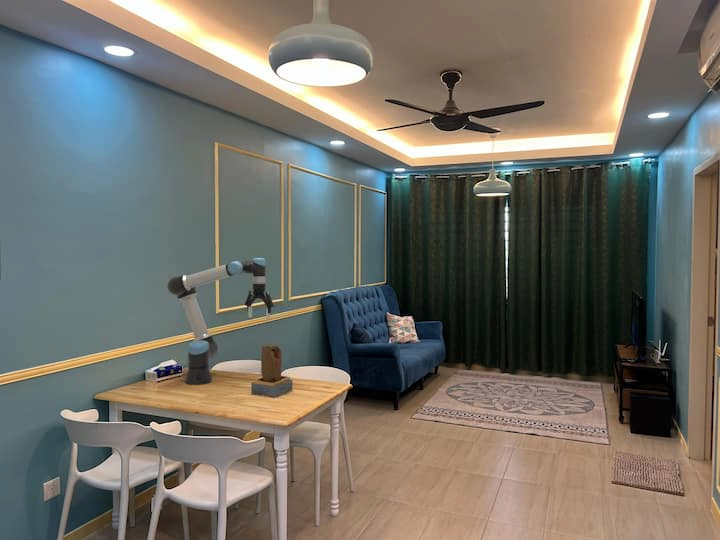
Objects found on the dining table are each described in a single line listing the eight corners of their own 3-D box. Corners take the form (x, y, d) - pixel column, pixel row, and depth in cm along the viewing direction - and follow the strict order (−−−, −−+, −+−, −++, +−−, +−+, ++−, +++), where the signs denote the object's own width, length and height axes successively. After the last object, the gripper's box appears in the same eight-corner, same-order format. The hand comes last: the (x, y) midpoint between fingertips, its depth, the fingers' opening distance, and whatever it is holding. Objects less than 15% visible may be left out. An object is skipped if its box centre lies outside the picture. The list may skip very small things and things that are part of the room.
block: (259, 381, 294) (259, 345, 293) (270, 378, 300) (270, 343, 299) (273, 384, 287) (273, 347, 286) (283, 381, 293) (283, 345, 292)
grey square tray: (251, 393, 290) (251, 380, 290) (268, 387, 304) (268, 374, 304) (275, 397, 283) (275, 383, 282) (292, 390, 297) (292, 377, 297)
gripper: (238, 282, 326) (238, 317, 327) (272, 284, 315) (272, 320, 316) (246, 282, 333) (246, 316, 334) (279, 283, 322) (279, 318, 323)
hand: (259, 318), depth 325 cm, fingers open, 13 cm apart
